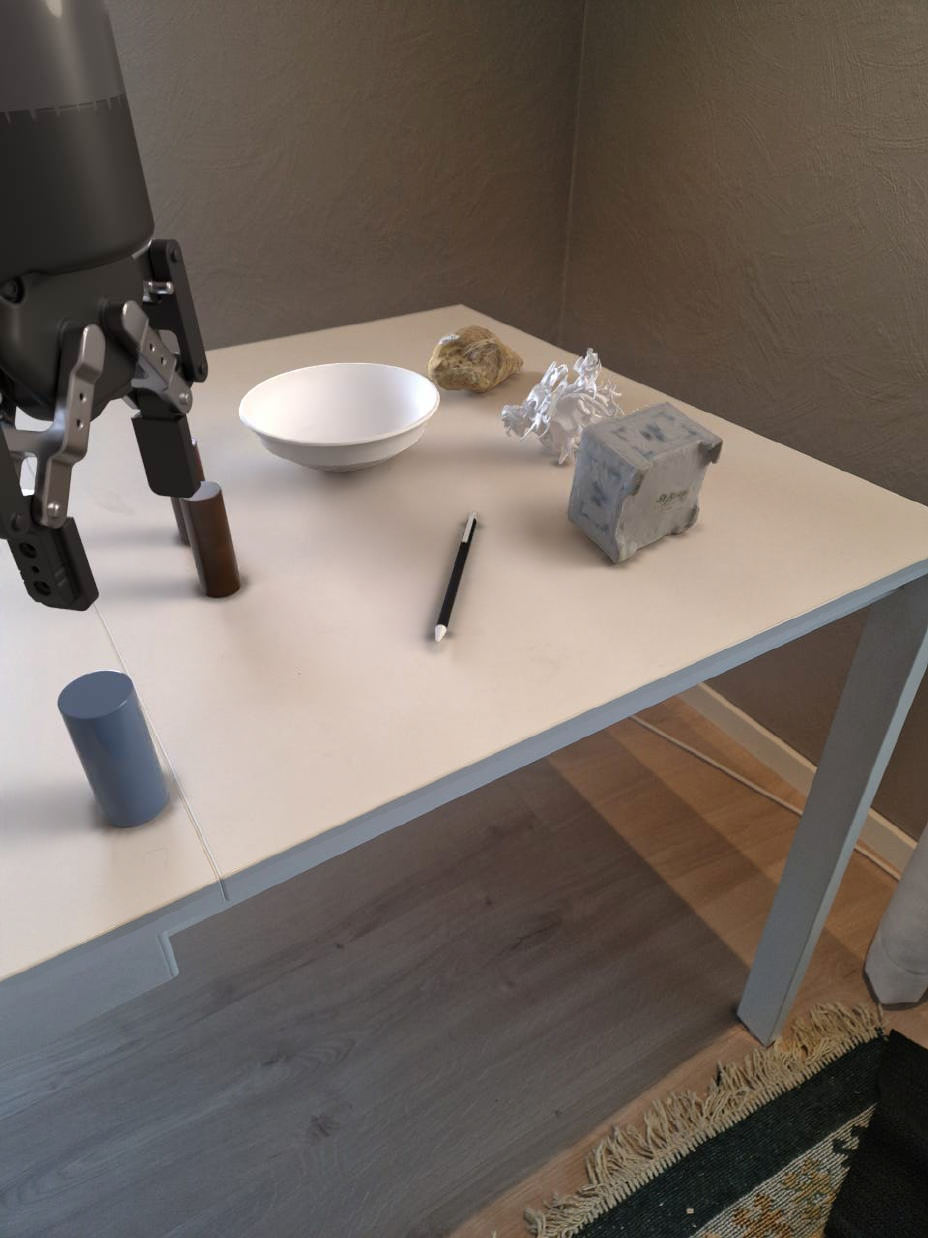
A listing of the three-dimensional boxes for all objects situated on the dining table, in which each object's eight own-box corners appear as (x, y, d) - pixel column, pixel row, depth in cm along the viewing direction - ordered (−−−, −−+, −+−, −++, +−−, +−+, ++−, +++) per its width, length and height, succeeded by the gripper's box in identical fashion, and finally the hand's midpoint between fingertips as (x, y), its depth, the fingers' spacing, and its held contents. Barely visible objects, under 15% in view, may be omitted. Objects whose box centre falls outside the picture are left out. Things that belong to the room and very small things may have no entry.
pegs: (206, 602, 70) (182, 504, 64) (177, 531, 78) (154, 440, 73) (245, 592, 71) (225, 495, 65) (212, 523, 79) (192, 432, 74)
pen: (479, 517, 79) (479, 506, 78) (442, 648, 64) (442, 636, 63) (469, 516, 79) (469, 506, 79) (431, 647, 64) (430, 635, 64)
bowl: (472, 434, 93) (472, 377, 89) (383, 522, 79) (378, 458, 75) (317, 405, 100) (310, 351, 96) (209, 481, 86) (195, 421, 82)
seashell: (508, 407, 109) (466, 364, 111) (547, 356, 105) (503, 312, 106) (454, 412, 98) (408, 363, 99) (496, 354, 94) (447, 305, 95)
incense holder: (625, 572, 72) (638, 459, 66) (562, 529, 77) (569, 421, 71) (709, 537, 76) (729, 427, 70) (644, 498, 82) (658, 393, 75)
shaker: (106, 836, 51) (60, 727, 45) (97, 790, 54) (53, 682, 48) (174, 813, 52) (138, 704, 47) (163, 769, 55) (127, 661, 50)
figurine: (499, 398, 94) (560, 308, 87) (610, 468, 97) (677, 386, 91) (491, 451, 84) (559, 353, 77) (616, 526, 87) (691, 439, 81)
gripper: (25, 62, 32) (133, 459, 42) (-330, 118, 21) (-69, 639, 31) (212, 62, 31) (279, 472, 41) (-62, 122, 20) (121, 665, 30)
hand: (128, 544), depth 36 cm, fingers open, 8 cm apart
